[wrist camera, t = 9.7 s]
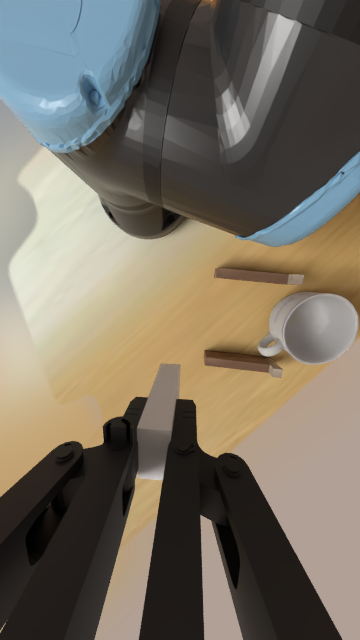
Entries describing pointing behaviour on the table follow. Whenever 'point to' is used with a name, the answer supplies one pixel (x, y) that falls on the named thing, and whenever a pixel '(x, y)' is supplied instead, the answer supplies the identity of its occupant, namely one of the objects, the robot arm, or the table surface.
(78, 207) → the table surface
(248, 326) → the table surface
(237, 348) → the table surface
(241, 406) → the table surface
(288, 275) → the brown parallel rails
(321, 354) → the teacup
